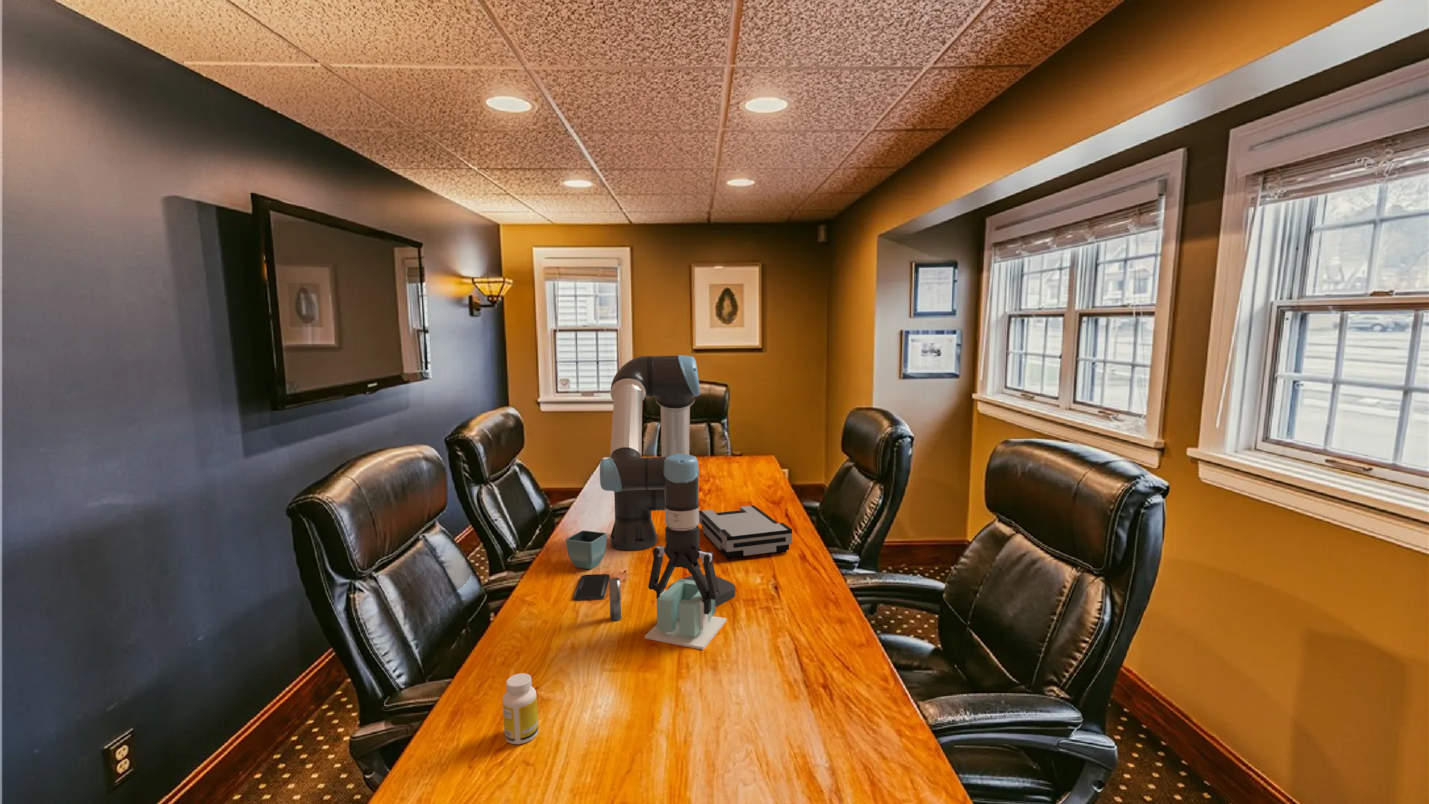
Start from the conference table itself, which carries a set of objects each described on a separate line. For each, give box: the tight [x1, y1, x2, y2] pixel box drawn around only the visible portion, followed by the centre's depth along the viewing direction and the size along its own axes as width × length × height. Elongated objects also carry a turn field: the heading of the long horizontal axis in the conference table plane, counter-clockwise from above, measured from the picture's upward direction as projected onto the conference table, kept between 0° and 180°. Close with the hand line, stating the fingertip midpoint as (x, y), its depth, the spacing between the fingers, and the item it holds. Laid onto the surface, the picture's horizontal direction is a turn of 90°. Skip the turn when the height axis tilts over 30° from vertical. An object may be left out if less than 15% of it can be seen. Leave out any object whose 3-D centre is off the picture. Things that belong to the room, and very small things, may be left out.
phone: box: [573, 573, 611, 602], centre depth 160 cm, size 8×1×15 cm
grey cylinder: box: [608, 577, 622, 622], centre depth 142 cm, size 3×3×10 cm
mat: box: [644, 615, 728, 651], centre depth 137 cm, size 14×14×1 cm
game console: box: [699, 504, 793, 561], centre depth 195 cm, size 21×32×8 cm, turn 17°
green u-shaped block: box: [656, 578, 716, 637], centre depth 137 cm, size 12×9×7 cm
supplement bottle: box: [502, 672, 539, 745], centre depth 101 cm, size 5×5×10 cm
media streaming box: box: [667, 574, 736, 608], centre depth 155 cm, size 15×15×3 cm
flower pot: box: [565, 530, 608, 570], centre depth 175 cm, size 9×9×9 cm
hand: (683, 623), depth 135 cm, fingers closed on green u-shaped block, 9 cm apart
